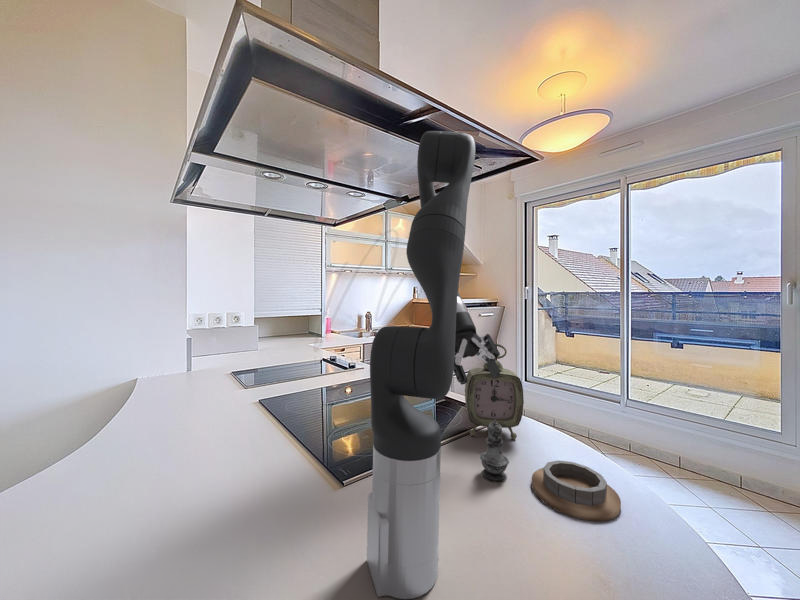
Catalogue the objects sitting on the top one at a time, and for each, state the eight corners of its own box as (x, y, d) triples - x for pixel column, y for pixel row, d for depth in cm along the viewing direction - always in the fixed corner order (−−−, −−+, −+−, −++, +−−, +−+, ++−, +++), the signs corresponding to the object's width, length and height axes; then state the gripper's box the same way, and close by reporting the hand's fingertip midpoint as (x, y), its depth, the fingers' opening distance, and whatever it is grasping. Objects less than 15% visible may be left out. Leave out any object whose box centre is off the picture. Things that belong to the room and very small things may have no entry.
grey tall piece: (477, 479, 66) (479, 421, 66) (481, 465, 71) (482, 412, 71) (507, 486, 64) (509, 426, 64) (509, 471, 69) (510, 416, 69)
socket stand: (576, 529, 52) (577, 506, 52) (515, 479, 66) (515, 461, 66) (640, 510, 57) (641, 490, 57) (570, 467, 71) (571, 451, 71)
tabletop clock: (466, 438, 85) (468, 344, 85) (463, 425, 94) (465, 340, 94) (522, 442, 83) (525, 347, 83) (514, 428, 92) (516, 342, 92)
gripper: (434, 312, 74) (460, 378, 65) (485, 308, 79) (515, 368, 71) (424, 329, 80) (446, 391, 71) (471, 323, 85) (498, 381, 77)
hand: (481, 380), depth 71 cm, fingers open, 8 cm apart
